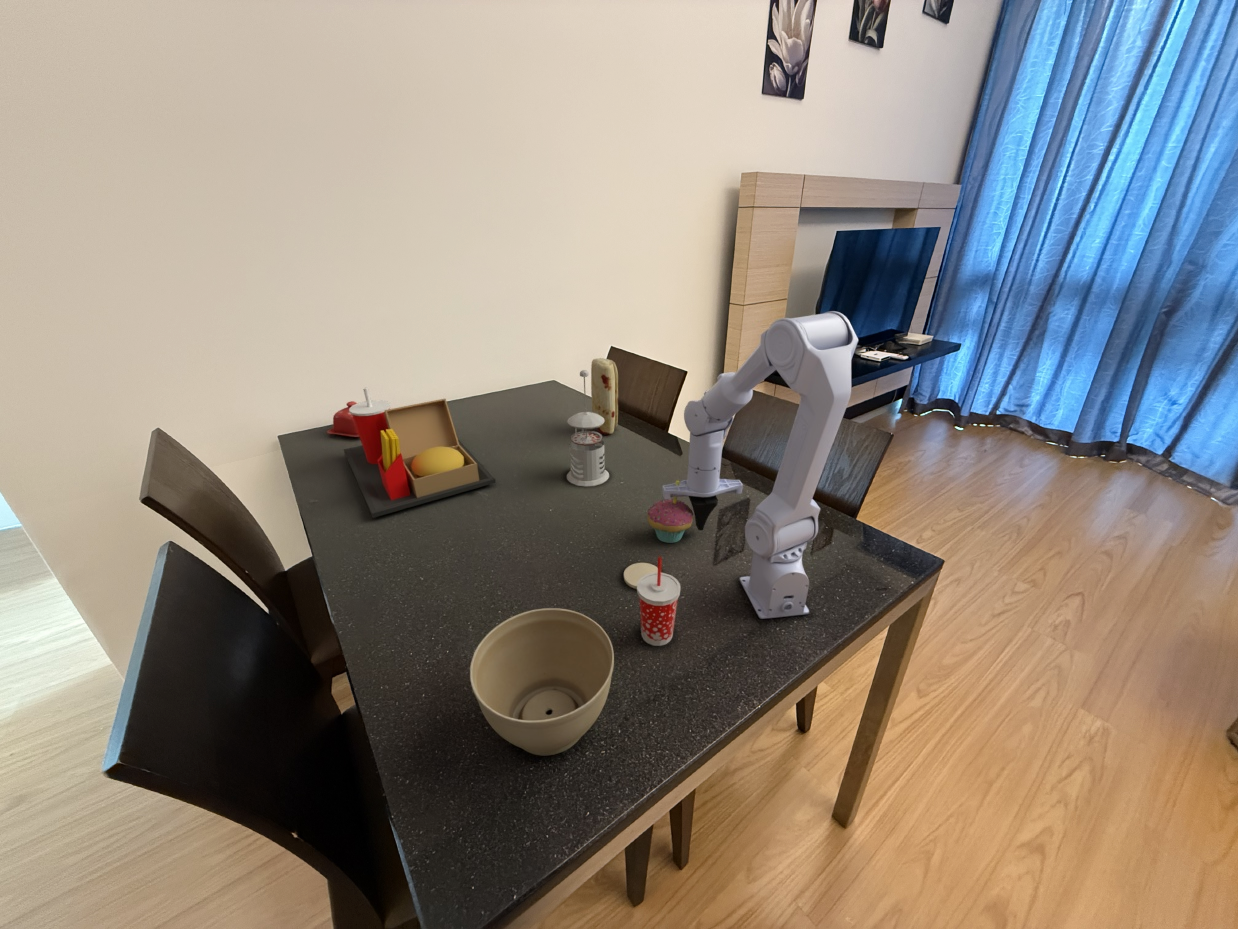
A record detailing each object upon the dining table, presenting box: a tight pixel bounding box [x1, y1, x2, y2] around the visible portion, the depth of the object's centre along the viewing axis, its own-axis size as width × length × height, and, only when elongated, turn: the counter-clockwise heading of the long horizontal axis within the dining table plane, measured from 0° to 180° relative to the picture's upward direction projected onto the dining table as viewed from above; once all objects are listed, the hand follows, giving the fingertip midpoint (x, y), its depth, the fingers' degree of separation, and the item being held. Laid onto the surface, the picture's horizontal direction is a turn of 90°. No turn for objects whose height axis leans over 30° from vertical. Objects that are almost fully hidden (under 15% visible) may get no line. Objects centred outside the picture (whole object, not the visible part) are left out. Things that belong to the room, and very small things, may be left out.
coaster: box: [623, 562, 658, 590], centre depth 89 cm, size 6×6×1 cm
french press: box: [566, 369, 610, 487], centre depth 116 cm, size 10×12×25 cm
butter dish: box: [326, 400, 360, 438], centre depth 142 cm, size 12×12×8 cm
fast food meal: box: [343, 387, 496, 518], centre depth 119 cm, size 26×35×18 cm
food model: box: [590, 357, 619, 436], centre depth 139 cm, size 10×7×20 cm
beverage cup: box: [636, 555, 681, 647], centre depth 74 cm, size 6×6×14 cm
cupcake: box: [646, 476, 694, 544], centre depth 97 cm, size 9×8×12 cm
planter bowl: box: [469, 607, 615, 757], centre depth 62 cm, size 16×16×11 cm
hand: (699, 527), depth 100 cm, fingers closed
